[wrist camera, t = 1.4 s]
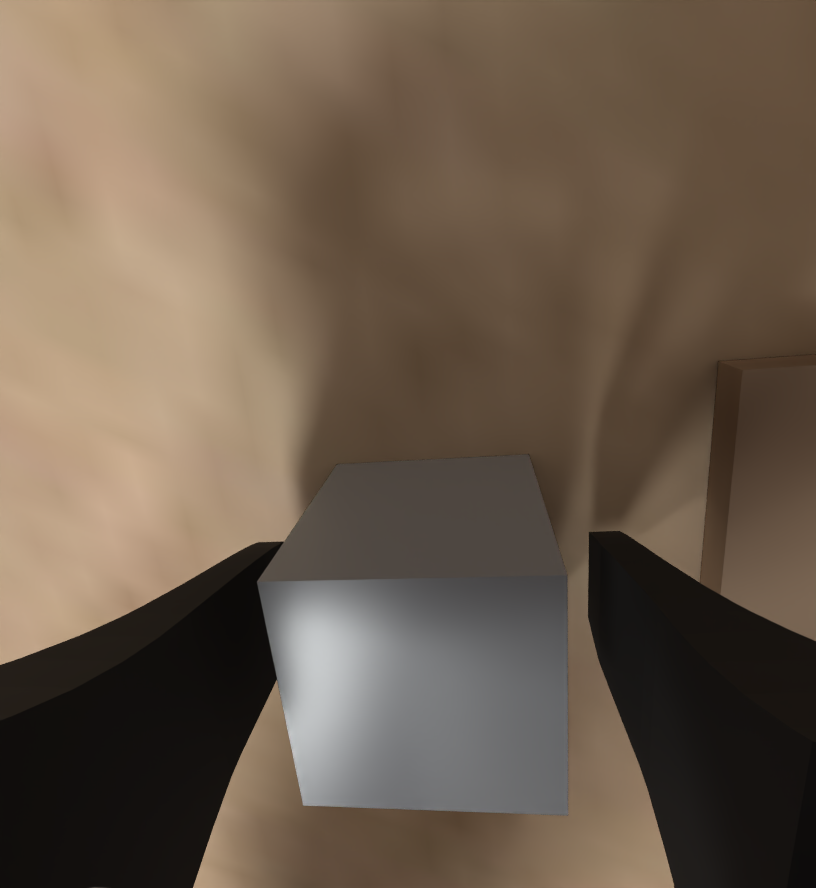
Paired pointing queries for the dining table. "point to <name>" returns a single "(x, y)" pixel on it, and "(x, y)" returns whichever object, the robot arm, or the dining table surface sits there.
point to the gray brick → (424, 639)
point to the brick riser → (764, 490)
